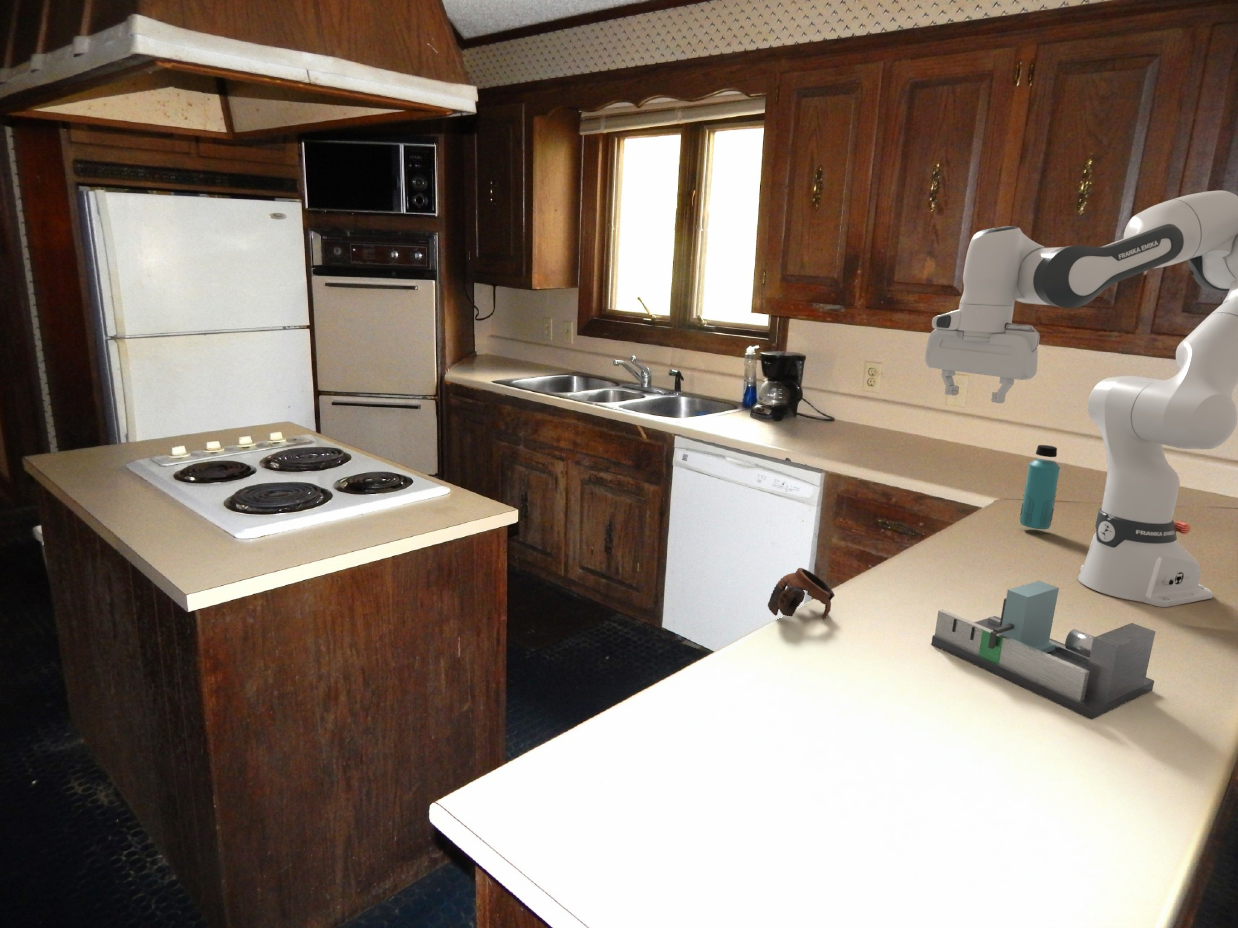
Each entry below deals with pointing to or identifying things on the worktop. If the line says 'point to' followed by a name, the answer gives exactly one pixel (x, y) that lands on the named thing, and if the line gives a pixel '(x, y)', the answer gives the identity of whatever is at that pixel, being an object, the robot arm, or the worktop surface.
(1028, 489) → the beverage bottle
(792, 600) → the brown hollow ring part
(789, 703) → the worktop surface
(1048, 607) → the gauge slider
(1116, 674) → the frame
